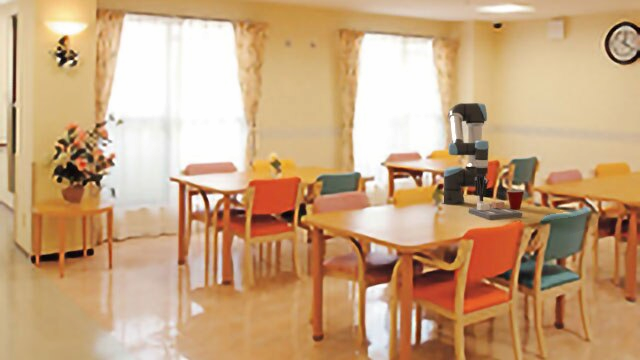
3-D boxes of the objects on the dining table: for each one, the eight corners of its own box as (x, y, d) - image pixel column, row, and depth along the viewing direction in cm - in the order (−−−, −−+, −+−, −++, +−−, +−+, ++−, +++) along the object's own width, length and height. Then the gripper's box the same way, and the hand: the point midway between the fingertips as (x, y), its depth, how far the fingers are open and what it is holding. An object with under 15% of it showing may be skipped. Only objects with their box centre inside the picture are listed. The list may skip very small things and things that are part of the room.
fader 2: (491, 207, 389) (492, 201, 388) (500, 206, 391) (500, 200, 390) (495, 208, 385) (495, 202, 385) (504, 207, 387) (504, 202, 386)
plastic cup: (513, 206, 406) (514, 188, 405) (527, 209, 397) (528, 190, 396) (501, 208, 400) (502, 189, 399) (515, 211, 391) (516, 191, 390)
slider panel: (468, 212, 388) (468, 208, 387) (500, 210, 394) (500, 205, 394) (489, 219, 367) (489, 214, 367) (522, 217, 374) (522, 212, 373)
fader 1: (476, 209, 383) (476, 203, 382) (485, 208, 384) (485, 202, 384) (480, 210, 379) (480, 204, 378) (489, 209, 381) (489, 203, 380)
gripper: (469, 166, 386) (469, 205, 389) (481, 168, 374) (480, 208, 377) (480, 165, 388) (479, 204, 391) (493, 167, 376) (491, 207, 379)
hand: (480, 206), depth 384 cm, fingers closed
